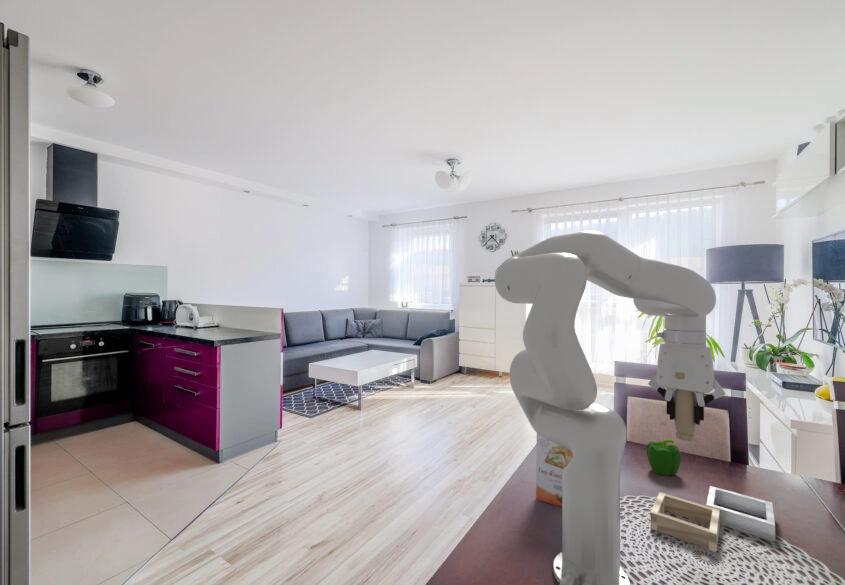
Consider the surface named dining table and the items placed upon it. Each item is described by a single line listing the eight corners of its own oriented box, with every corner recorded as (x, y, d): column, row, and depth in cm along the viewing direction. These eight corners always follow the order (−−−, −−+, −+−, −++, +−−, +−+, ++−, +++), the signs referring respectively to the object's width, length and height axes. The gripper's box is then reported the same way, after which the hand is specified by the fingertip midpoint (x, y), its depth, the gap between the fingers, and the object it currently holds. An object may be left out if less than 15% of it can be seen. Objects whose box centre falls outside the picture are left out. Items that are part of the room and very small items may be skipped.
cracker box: (535, 501, 92) (535, 417, 92) (540, 490, 97) (541, 410, 97) (597, 518, 85) (597, 427, 85) (599, 505, 90) (599, 419, 90)
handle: (707, 442, 80) (707, 373, 80) (681, 444, 79) (681, 373, 79) (688, 434, 85) (688, 368, 85) (663, 435, 84) (663, 369, 84)
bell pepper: (640, 470, 109) (640, 436, 109) (654, 463, 113) (654, 430, 113) (672, 482, 102) (672, 445, 102) (686, 474, 106) (685, 439, 106)
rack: (716, 552, 74) (716, 534, 74) (650, 528, 81) (650, 512, 81) (719, 525, 83) (719, 509, 83) (659, 506, 90) (659, 491, 90)
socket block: (775, 542, 77) (775, 525, 77) (706, 520, 85) (706, 504, 85) (772, 517, 86) (772, 502, 86) (710, 499, 93) (709, 485, 93)
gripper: (638, 336, 85) (638, 416, 85) (733, 342, 74) (733, 434, 74) (645, 334, 91) (645, 409, 91) (734, 339, 80) (734, 425, 80)
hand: (684, 419), depth 82 cm, fingers closed on handle, 4 cm apart
